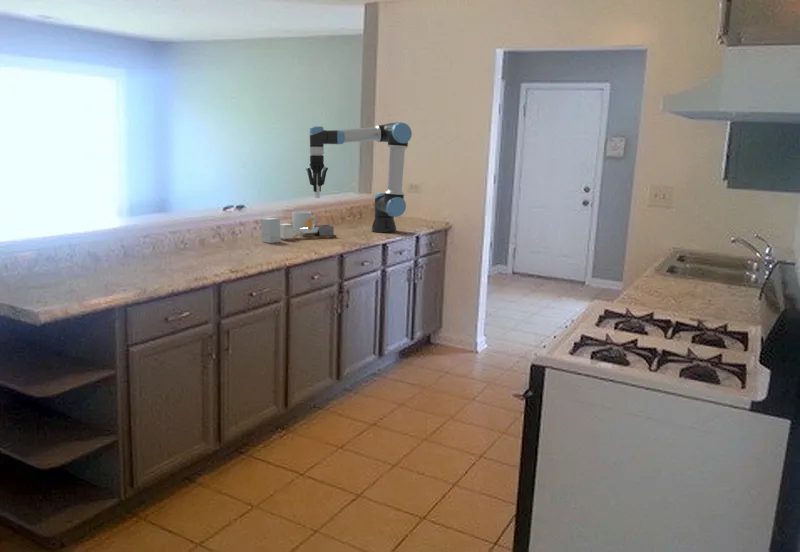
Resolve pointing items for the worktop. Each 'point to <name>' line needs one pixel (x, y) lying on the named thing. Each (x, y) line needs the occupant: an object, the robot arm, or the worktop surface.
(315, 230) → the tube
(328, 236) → the rail board
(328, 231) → the sleeve
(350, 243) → the worktop surface
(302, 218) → the mug
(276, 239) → the supplement box
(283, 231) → the socket
